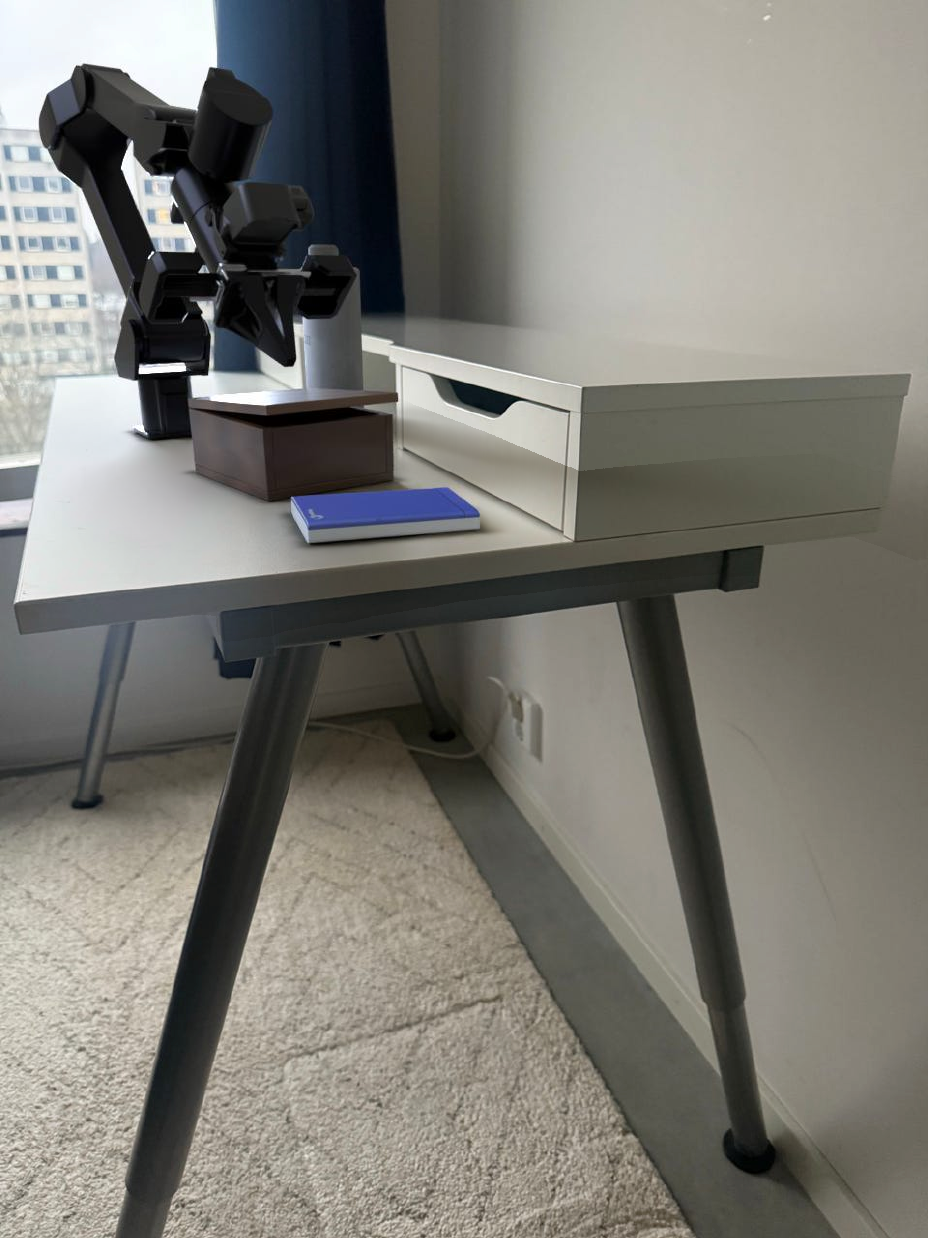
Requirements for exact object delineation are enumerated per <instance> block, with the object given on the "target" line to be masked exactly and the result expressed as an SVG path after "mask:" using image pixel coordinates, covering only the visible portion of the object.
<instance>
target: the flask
mask: <svg viewBox="0 0 928 1238" xmlns="http://www.w3.org/2000/svg"><path fill="white" fill-rule="evenodd" d="M308 255H339V248H338V246H336V244H311V245H310V246H309V247H308ZM353 269H354V271H355V273H356V275H357V277H356V279H355V281H354V283H353V285H352V287H351V289H350V291H349V293H348V295H347V297H346V299H345V301H344V303H343V305H342V307H341V309H340V311H339V313H338V314H337V315H336V316H334V317H333V318H331V319H309V320H307V319H306V318H304V317H302V316H301V317H302V331H303V332H302V334H303V350H304V352H303V353H304V366H305V367H304V368H305V385H306V387H305V388H323V389H342V390H361V391H364V367H363V366H364V364H363V339H362V338H363V335H362V333H363V332H362V307H361V306H362V305H361V279H360V278H361V277H360V274H361V273H360V269H359V268H357V267H353ZM356 407H360V408H365V405H364V406H356Z"/></svg>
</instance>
